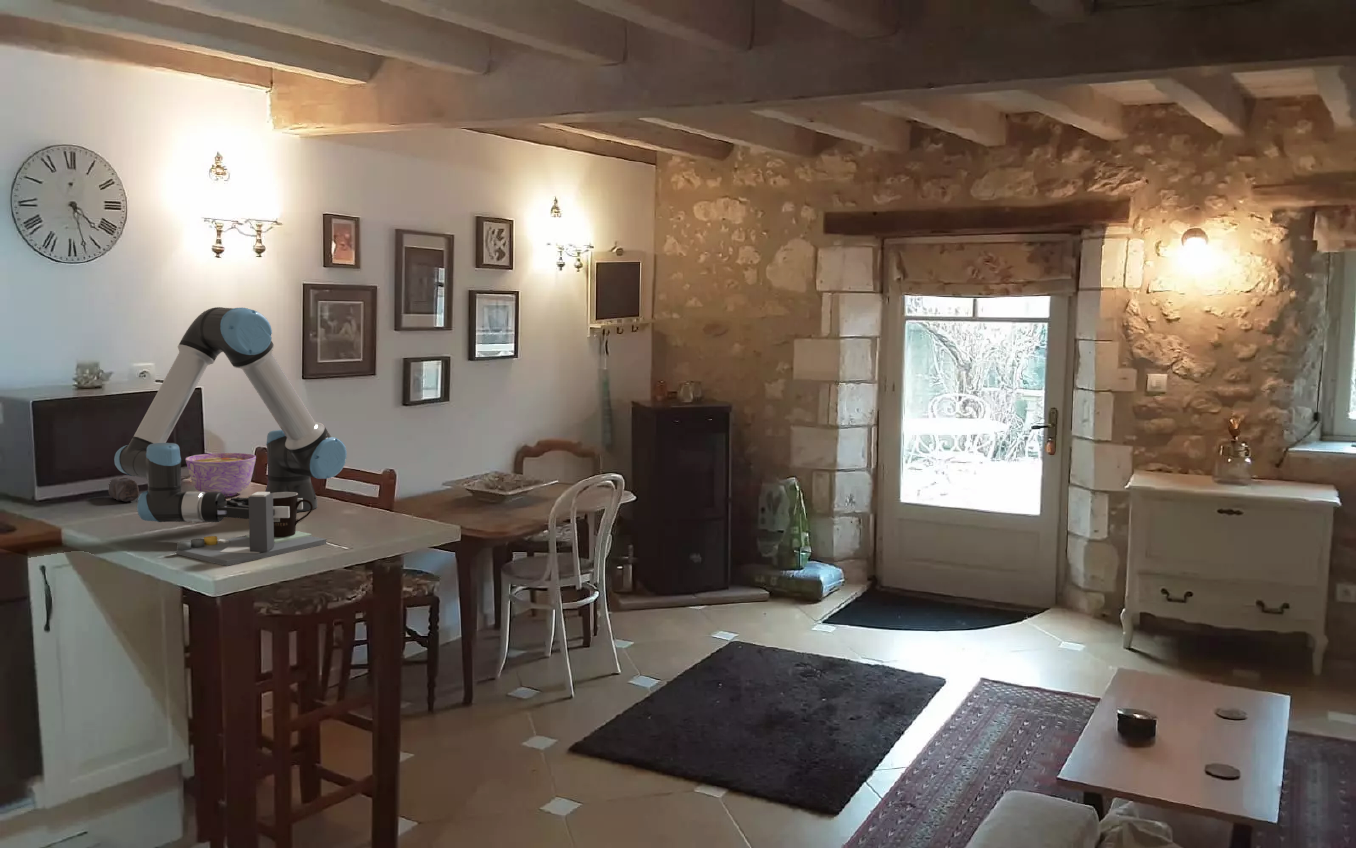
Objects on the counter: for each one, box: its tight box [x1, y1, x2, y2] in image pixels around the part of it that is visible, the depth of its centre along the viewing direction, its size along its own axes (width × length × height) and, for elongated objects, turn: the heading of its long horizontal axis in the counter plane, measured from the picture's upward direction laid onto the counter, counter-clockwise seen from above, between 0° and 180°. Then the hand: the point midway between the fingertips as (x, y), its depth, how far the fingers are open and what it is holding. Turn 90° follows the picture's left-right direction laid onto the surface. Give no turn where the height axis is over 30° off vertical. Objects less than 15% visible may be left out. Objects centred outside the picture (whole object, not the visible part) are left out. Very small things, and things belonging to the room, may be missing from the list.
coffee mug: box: [273, 492, 314, 537], centre depth 271 cm, size 12×9×10 cm
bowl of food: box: [185, 452, 257, 498], centre depth 331 cm, size 20×20×12 cm
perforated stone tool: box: [107, 477, 140, 503], centre depth 320 cm, size 15×5×7 cm, turn 47°
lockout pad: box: [246, 530, 313, 543], centre depth 272 cm, size 11×11×1 cm
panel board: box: [176, 534, 327, 567], centre depth 263 cm, size 28×19×3 cm, turn 148°
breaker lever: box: [247, 491, 274, 552], centre depth 256 cm, size 4×5×13 cm
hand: (295, 507), depth 271 cm, fingers open, 10 cm apart
